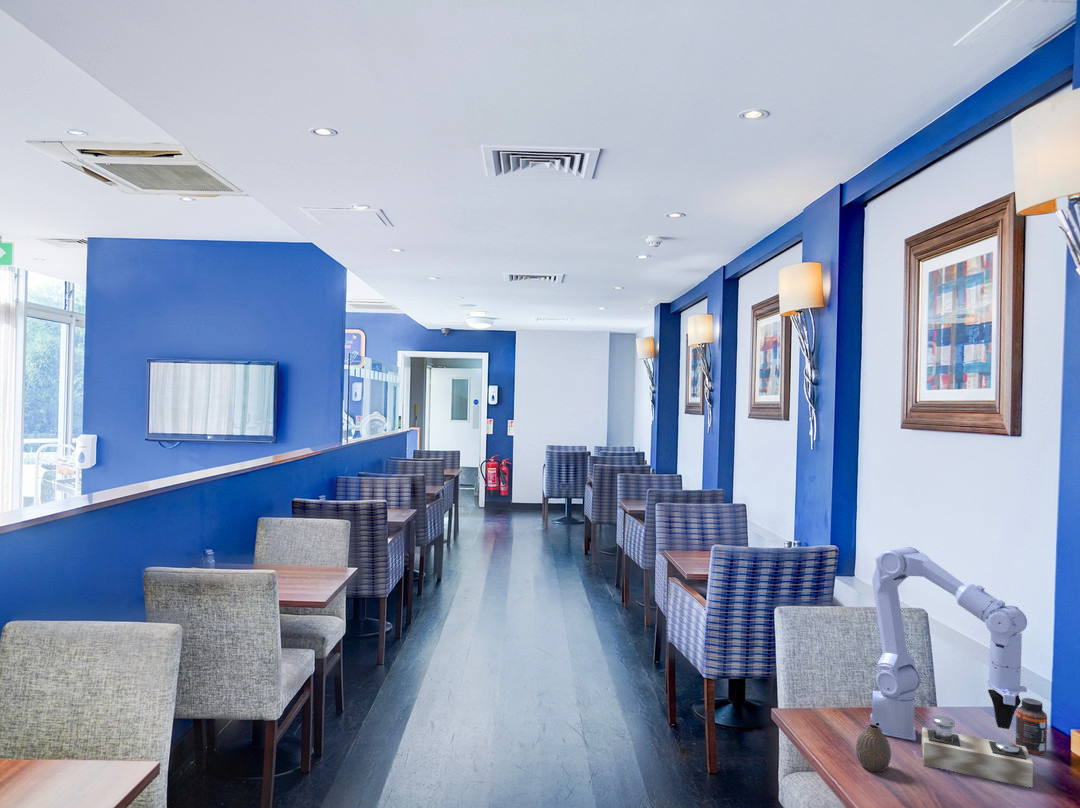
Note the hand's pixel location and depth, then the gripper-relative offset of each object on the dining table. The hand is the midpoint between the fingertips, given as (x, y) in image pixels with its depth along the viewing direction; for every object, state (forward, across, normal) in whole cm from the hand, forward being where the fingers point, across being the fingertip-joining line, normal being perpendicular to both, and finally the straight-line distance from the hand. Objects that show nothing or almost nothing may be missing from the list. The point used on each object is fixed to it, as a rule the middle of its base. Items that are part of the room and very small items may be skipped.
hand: (1003, 727), depth 159 cm
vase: (+10, -11, +25) cm, 29 cm away
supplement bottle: (+10, +17, -8) cm, 21 cm away
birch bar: (+10, 0, +5) cm, 11 cm away
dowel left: (+6, 0, +11) cm, 12 cm away
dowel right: (+9, 0, -1) cm, 9 cm away
